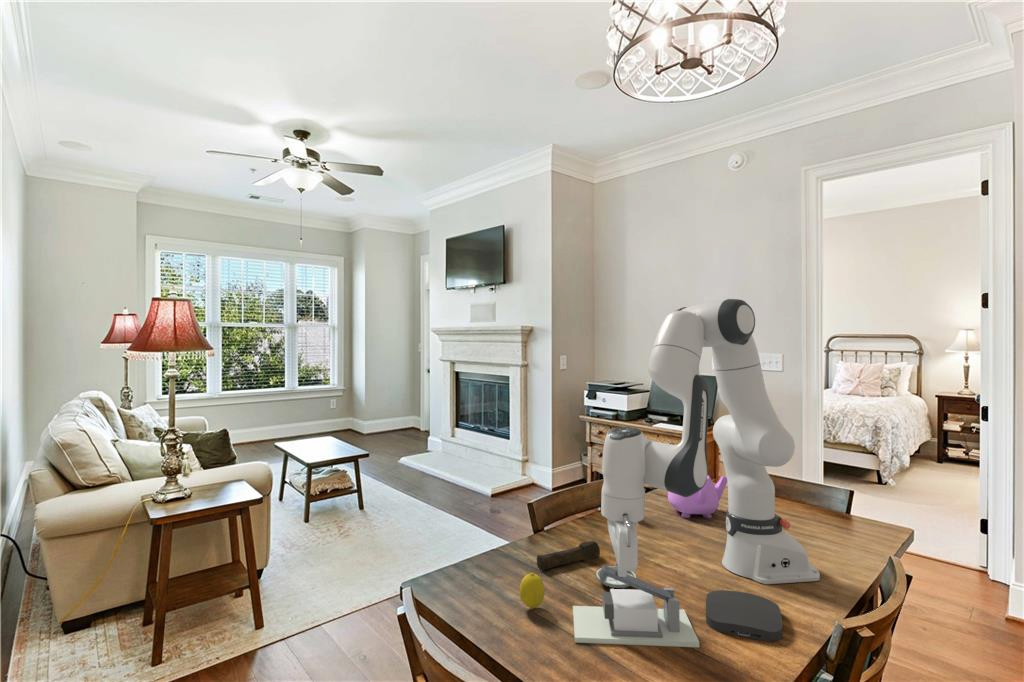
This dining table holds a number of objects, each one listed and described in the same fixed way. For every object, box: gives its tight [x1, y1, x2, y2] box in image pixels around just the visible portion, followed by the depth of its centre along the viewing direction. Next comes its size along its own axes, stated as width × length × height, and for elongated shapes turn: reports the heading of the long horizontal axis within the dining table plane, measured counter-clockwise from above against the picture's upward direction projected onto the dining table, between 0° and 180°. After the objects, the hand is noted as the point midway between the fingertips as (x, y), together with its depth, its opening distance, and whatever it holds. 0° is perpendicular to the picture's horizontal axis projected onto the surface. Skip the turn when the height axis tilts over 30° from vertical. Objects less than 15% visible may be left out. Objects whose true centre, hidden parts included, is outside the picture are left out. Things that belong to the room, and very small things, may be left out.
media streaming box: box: [705, 589, 784, 642], centre depth 109 cm, size 15×15×3 cm
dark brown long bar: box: [536, 540, 601, 572], centre depth 137 cm, size 19×4×5 cm, turn 113°
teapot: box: [667, 474, 728, 519], centre depth 173 cm, size 20×20×15 cm
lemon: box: [519, 572, 545, 610], centre depth 114 cm, size 6×6×8 cm
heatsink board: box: [572, 587, 700, 648], centre depth 106 cm, size 24×12×7 cm, turn 85°
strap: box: [599, 564, 672, 601], centre depth 106 cm, size 14×3×2 cm, turn 85°
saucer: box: [595, 565, 637, 589], centre depth 125 cm, size 10×10×2 cm
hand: (621, 573), depth 106 cm, fingers closed, pressing on strap
